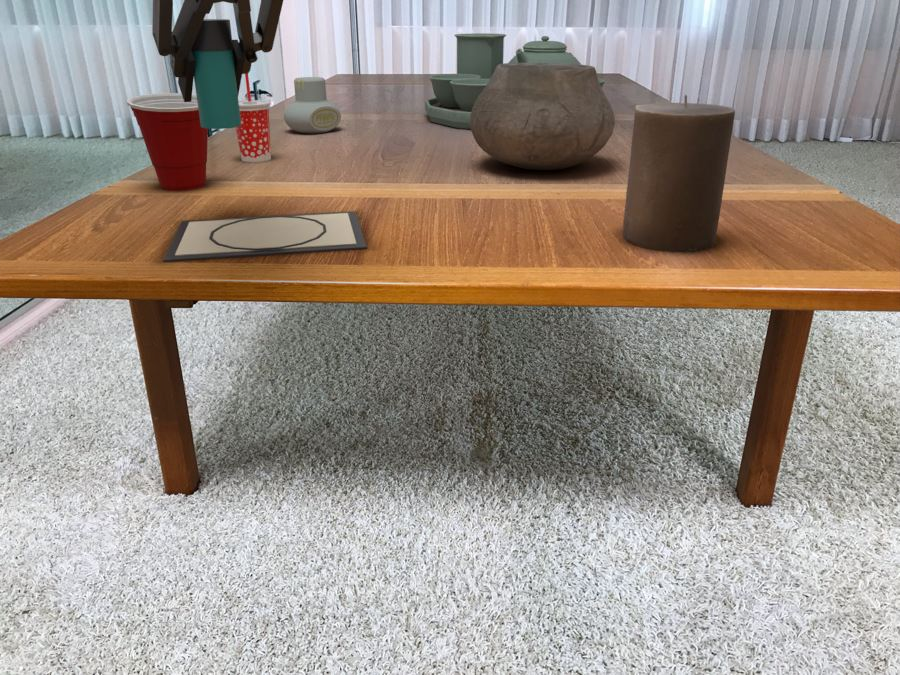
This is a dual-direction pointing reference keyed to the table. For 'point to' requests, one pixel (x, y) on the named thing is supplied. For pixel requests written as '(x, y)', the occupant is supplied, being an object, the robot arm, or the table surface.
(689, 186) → the pillar candle
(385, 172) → the table surface
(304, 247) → the drawing board
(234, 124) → the dot marker
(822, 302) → the table surface
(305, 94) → the air freshener
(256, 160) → the beverage cup
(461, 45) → the tea set
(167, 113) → the plastic cup
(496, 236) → the table surface
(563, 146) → the clay pot
